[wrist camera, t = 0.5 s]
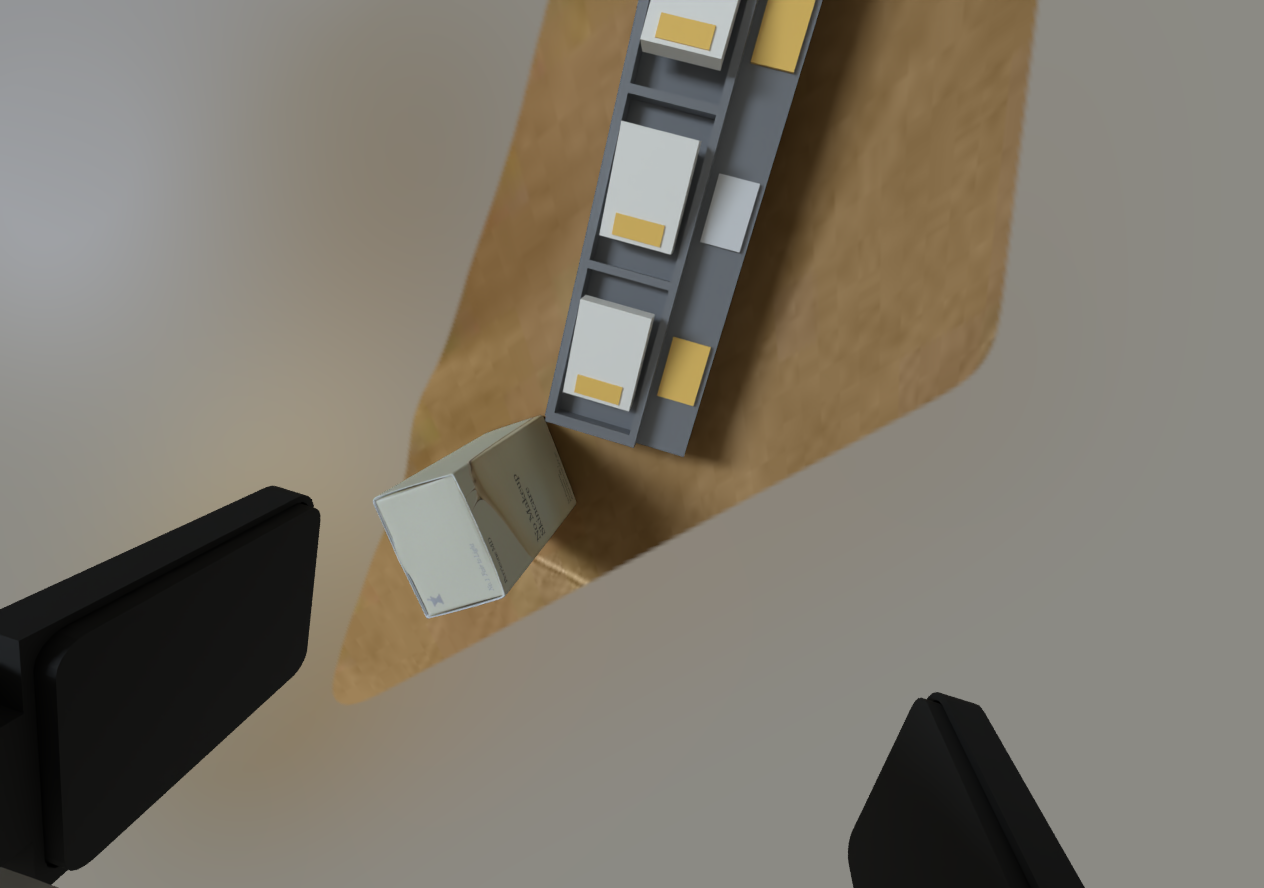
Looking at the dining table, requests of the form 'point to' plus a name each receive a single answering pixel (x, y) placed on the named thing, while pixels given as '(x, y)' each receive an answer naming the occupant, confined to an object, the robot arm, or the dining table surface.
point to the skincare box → (477, 516)
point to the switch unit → (688, 215)
